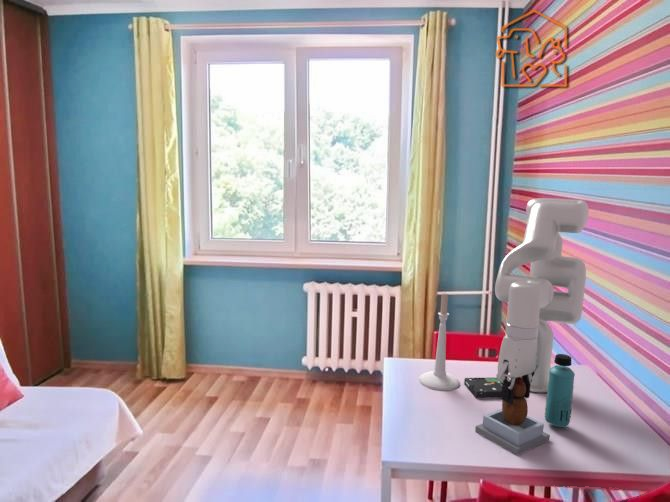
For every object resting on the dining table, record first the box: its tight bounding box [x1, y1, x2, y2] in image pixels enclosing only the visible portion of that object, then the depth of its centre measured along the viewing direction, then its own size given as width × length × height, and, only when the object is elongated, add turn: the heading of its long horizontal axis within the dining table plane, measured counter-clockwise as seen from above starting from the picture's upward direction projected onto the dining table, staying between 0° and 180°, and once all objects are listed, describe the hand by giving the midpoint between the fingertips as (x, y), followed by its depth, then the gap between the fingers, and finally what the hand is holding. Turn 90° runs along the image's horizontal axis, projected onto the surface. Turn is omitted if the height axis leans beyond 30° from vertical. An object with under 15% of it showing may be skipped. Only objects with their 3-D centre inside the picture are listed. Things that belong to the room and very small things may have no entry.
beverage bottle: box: [543, 353, 576, 427], centre depth 135 cm, size 6×7×20 cm
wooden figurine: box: [501, 376, 529, 426], centre depth 129 cm, size 7×6×15 cm
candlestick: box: [418, 292, 460, 391], centre depth 161 cm, size 13×13×30 cm
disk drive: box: [463, 377, 510, 399], centre depth 158 cm, size 10×3×15 cm
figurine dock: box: [474, 408, 551, 456], centre depth 130 cm, size 13×13×4 cm
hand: (515, 398), depth 129 cm, fingers closed on wooden figurine, 5 cm apart
